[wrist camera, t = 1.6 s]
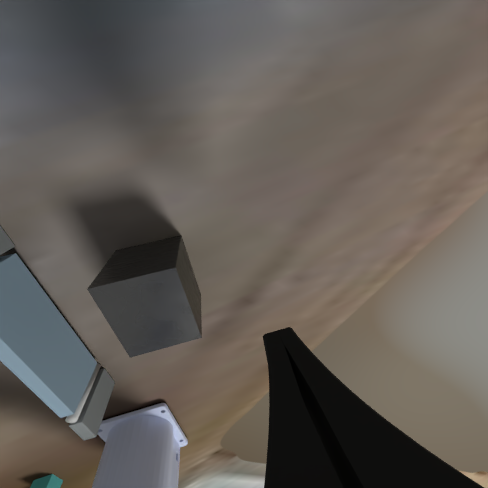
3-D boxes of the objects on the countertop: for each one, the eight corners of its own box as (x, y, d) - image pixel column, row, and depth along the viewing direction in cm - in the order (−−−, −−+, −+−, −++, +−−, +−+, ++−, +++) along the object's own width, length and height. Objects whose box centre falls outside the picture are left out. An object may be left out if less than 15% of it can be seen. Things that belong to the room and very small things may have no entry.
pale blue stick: (97, 363, 20) (74, 413, 17) (86, 366, 20) (60, 417, 17) (15, 253, 15) (-46, 291, 11) (0, 256, 15) (-68, 296, 11)
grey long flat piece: (114, 382, 22) (96, 436, 18) (105, 385, 22) (84, 440, 18) (-15, 205, 14) (-104, 231, 10) (-32, 208, 14) (-130, 236, 10)
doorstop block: (200, 293, 20) (201, 337, 16) (145, 308, 19) (129, 357, 15) (181, 235, 17) (175, 267, 13) (116, 249, 17) (87, 289, 12)
